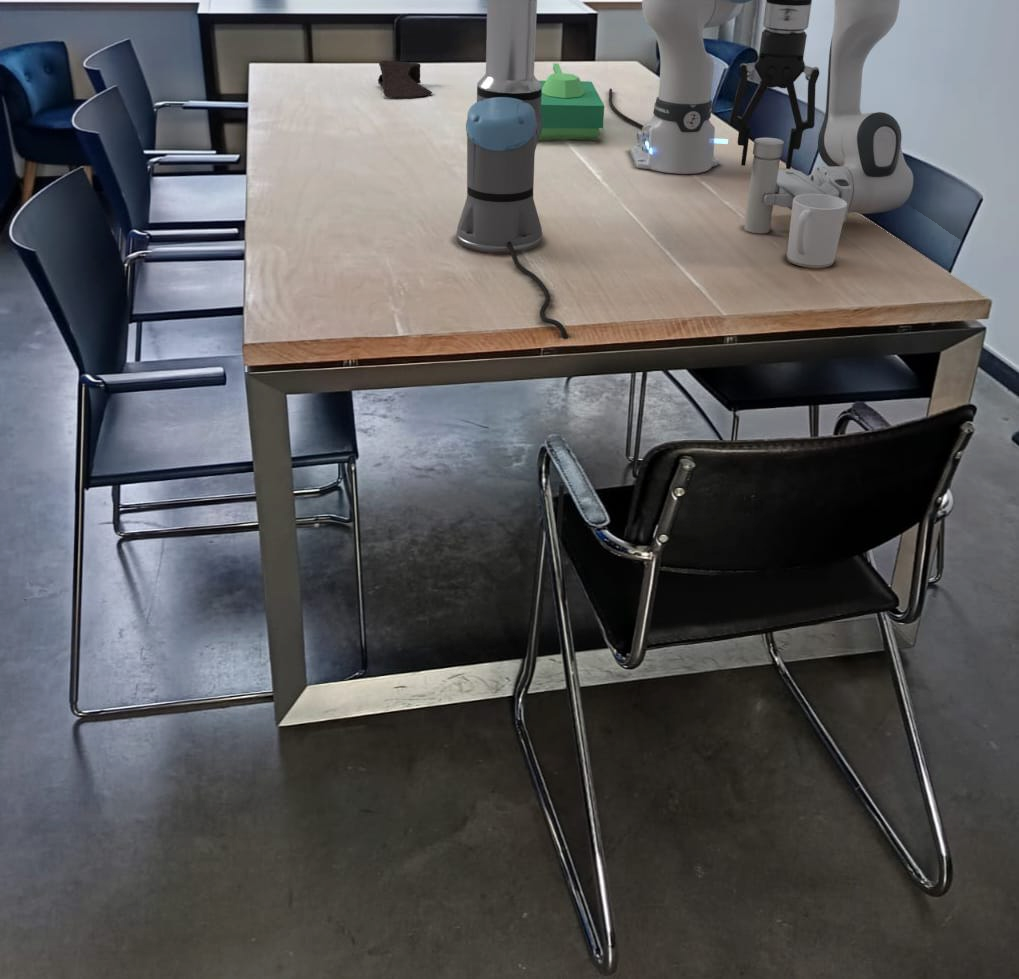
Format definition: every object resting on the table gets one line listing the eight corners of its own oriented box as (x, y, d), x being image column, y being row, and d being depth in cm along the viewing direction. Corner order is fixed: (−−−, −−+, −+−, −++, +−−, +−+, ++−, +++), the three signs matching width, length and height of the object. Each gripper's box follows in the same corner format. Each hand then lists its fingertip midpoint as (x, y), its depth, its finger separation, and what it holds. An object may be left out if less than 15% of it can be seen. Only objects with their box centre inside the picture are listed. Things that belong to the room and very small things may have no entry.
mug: (798, 248, 195) (807, 190, 190) (845, 259, 190) (856, 201, 185) (769, 263, 188) (777, 204, 182) (816, 276, 183) (827, 215, 178)
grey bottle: (747, 233, 202) (758, 148, 194) (741, 225, 206) (752, 141, 198) (772, 233, 202) (784, 148, 194) (765, 225, 206) (778, 141, 198)
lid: (771, 149, 200) (773, 136, 199) (787, 156, 196) (789, 143, 194) (747, 151, 198) (749, 138, 197) (762, 159, 194) (764, 145, 193)
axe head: (443, 87, 294) (392, 77, 287) (436, 115, 299) (385, 106, 292) (421, 62, 307) (371, 52, 300) (414, 89, 311) (365, 80, 304)
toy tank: (589, 59, 279) (605, 88, 249) (586, 109, 285) (601, 143, 256) (520, 58, 278) (528, 87, 248) (518, 108, 284) (526, 142, 255)
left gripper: (724, 30, 184) (708, 166, 196) (847, 36, 181) (823, 175, 193) (725, 23, 191) (710, 156, 203) (844, 29, 187) (822, 164, 199)
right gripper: (805, 159, 210) (737, 162, 207) (855, 190, 193) (782, 193, 190) (799, 192, 213) (733, 195, 211) (849, 224, 196) (777, 228, 194)
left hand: (765, 165), depth 198 cm, fingers open, 7 cm apart
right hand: (757, 194), depth 200 cm, fingers closed on grey bottle, 5 cm apart
